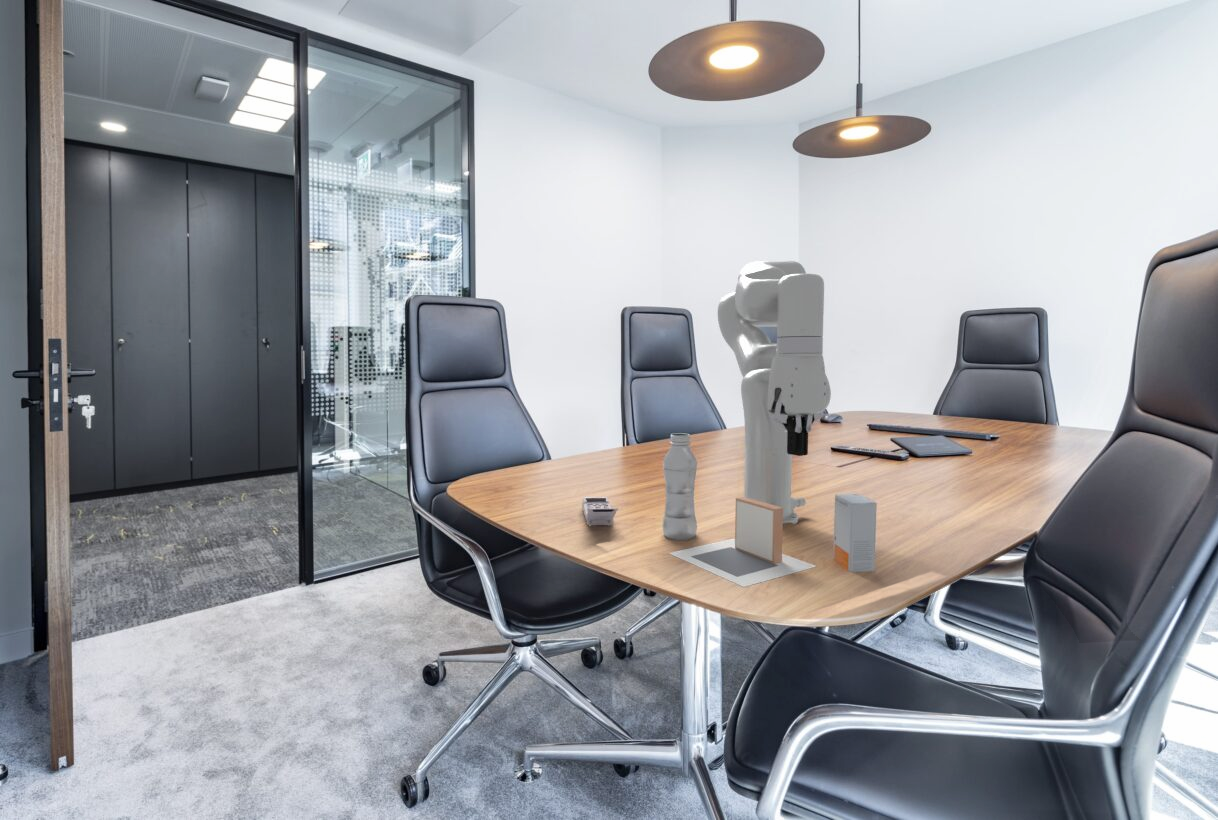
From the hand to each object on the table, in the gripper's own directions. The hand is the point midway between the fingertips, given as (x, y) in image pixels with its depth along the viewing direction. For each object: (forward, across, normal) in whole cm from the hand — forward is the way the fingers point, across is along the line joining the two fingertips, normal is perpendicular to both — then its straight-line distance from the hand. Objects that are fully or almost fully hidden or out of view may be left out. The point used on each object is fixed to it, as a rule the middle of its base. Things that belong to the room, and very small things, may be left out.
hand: (797, 454), depth 107 cm
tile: (+16, +9, 0) cm, 19 cm away
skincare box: (+18, -1, +11) cm, 21 cm away
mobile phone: (+18, +18, -37) cm, 45 cm away
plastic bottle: (+18, +13, -16) cm, 27 cm away
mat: (+18, +13, 0) cm, 22 cm away
